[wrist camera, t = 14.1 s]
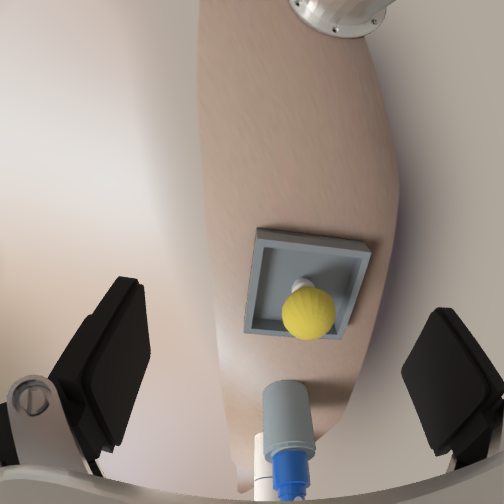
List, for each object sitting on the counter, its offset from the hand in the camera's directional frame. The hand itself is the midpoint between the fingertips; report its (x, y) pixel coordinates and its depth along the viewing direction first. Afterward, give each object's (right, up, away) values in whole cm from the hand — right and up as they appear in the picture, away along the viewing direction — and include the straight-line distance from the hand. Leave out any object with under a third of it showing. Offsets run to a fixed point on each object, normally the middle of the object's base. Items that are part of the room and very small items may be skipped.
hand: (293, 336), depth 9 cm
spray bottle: (+5, -25, +46) cm, 53 cm away
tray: (+6, -2, +35) cm, 35 cm away
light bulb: (+6, -2, +34) cm, 34 cm away
